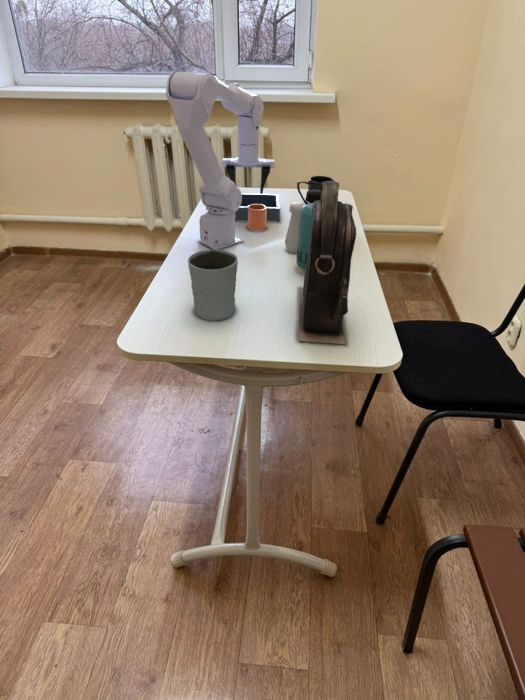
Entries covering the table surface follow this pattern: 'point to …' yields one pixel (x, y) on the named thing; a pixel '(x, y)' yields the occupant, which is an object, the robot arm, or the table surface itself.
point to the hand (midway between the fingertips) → (248, 192)
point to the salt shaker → (293, 227)
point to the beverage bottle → (306, 227)
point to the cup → (257, 217)
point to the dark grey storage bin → (265, 199)
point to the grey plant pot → (213, 283)
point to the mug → (314, 184)
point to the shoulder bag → (327, 269)
